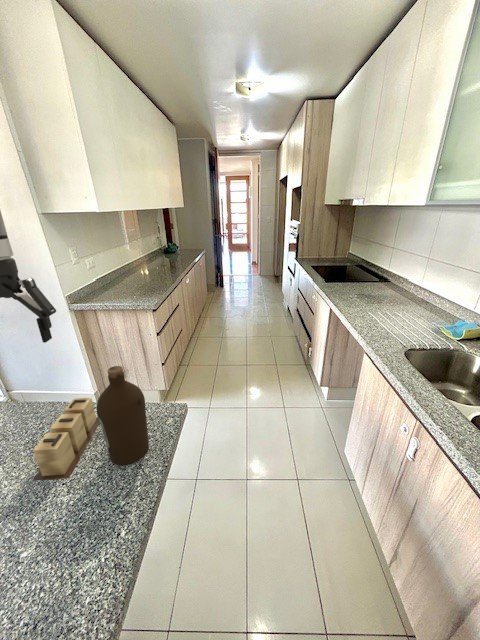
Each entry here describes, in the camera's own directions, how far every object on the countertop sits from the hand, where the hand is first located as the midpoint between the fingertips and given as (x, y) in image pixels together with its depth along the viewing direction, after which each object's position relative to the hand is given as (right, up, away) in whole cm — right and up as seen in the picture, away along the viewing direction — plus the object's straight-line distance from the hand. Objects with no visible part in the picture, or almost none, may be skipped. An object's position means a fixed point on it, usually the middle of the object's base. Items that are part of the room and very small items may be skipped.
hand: (20, 341), depth 68 cm
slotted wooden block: (+12, -25, +7) cm, 29 cm away
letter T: (+14, -30, -5) cm, 33 cm away
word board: (+13, -28, +2) cm, 31 cm away
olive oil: (+29, -29, 0) cm, 41 cm away
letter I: (+13, -28, +1) cm, 31 cm away
